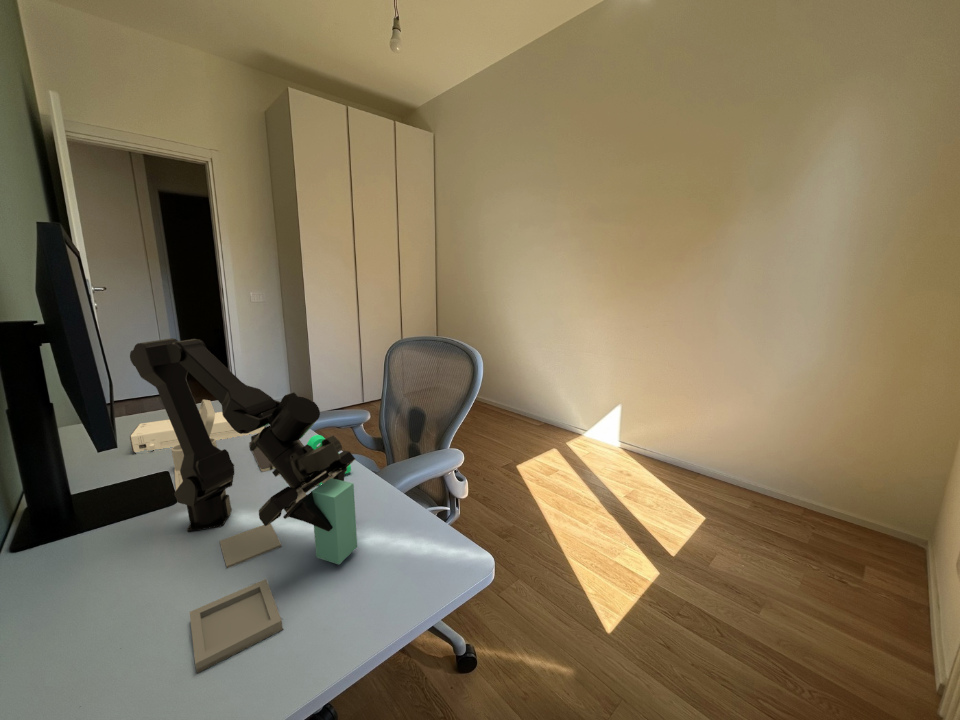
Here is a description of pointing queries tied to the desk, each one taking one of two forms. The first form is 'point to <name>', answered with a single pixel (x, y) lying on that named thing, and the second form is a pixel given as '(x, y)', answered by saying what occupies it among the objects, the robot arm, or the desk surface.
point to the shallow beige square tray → (233, 624)
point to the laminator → (165, 437)
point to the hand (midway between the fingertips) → (341, 520)
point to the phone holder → (208, 419)
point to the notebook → (264, 460)
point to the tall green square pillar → (336, 520)
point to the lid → (249, 545)
